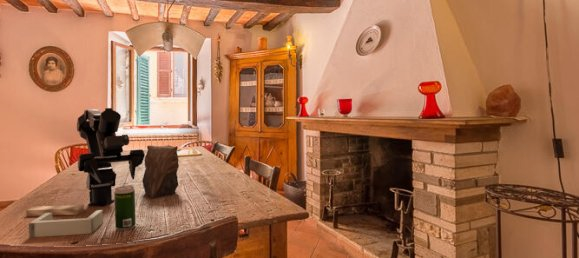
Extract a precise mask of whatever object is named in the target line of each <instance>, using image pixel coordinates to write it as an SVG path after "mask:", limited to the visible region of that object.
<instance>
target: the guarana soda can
mask: <svg viewBox="0 0 579 258" xmlns="http://www.w3.org/2000/svg"><path fill="white" fill-rule="evenodd" d="M114 190H115V191H114V192H113V193H114V194H113V195H114V196H113V197H114V199H113V200H114V223H115V228H116V230H117V231H129V230H132V229H134V228H135V226H136V222H137V221H136V196H135V195H136V193H135V187H134V186H133V185H124V186H123V185H122V186H117V187H115V188H114Z"/></svg>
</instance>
